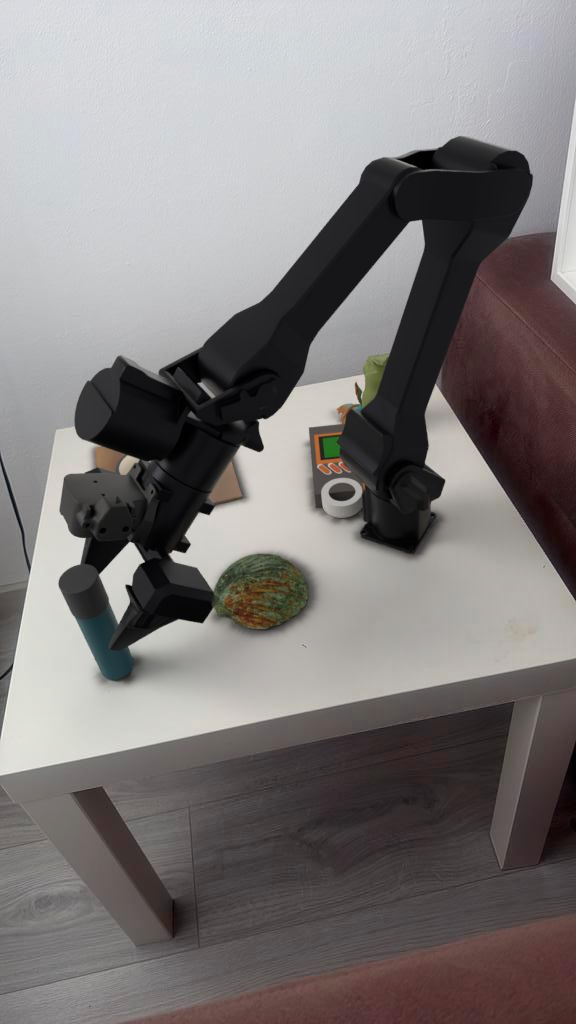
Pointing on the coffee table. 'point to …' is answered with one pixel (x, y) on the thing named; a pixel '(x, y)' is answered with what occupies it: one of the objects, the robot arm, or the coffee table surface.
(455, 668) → the coffee table surface
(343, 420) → the dragon figurine
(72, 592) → the cylinder
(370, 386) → the green tall rounded piece
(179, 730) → the coffee table surface
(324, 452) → the electronic device
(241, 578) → the seashell
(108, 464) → the brown square board
